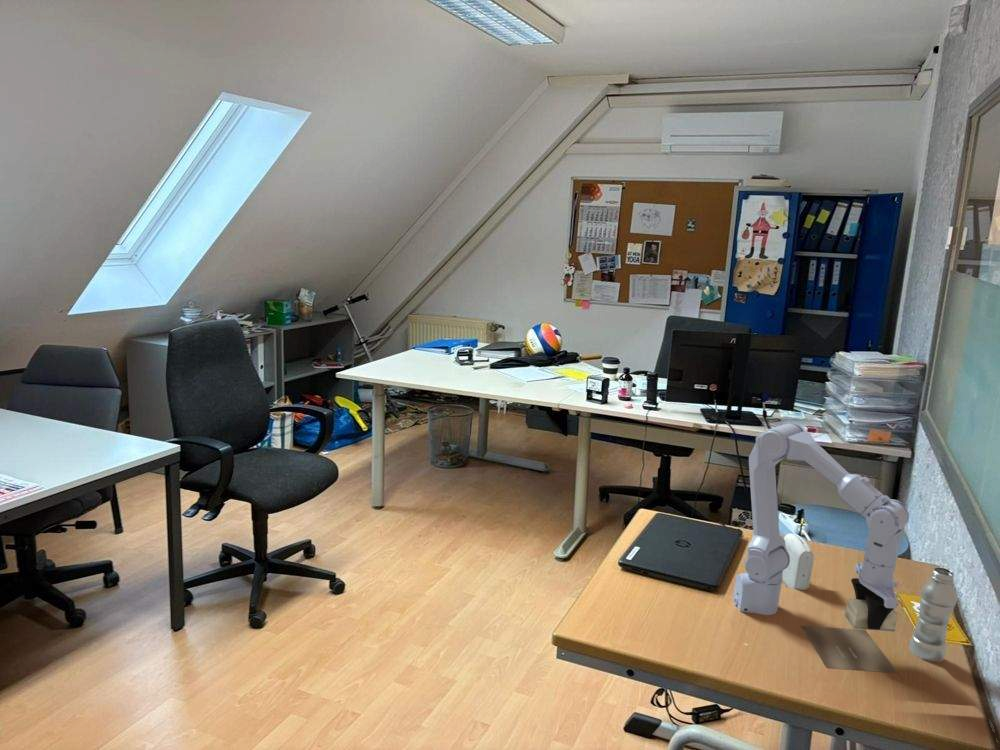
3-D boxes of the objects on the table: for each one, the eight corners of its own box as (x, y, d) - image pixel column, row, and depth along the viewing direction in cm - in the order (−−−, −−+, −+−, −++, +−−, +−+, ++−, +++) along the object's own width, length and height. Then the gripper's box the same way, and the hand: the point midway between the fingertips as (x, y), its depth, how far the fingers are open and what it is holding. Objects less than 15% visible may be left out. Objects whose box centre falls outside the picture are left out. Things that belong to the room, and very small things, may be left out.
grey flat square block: (825, 674, 148) (826, 667, 148) (799, 631, 163) (800, 625, 162) (896, 679, 148) (898, 673, 148) (864, 636, 162) (865, 630, 162)
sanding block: (854, 628, 150) (857, 610, 149) (844, 616, 154) (848, 598, 153) (894, 631, 150) (898, 613, 149) (884, 619, 154) (887, 601, 153)
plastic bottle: (900, 653, 157) (917, 566, 152) (922, 646, 160) (940, 561, 155) (927, 671, 151) (947, 581, 146) (950, 664, 154) (969, 576, 149)
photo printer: (810, 595, 178) (818, 548, 175) (792, 595, 178) (800, 547, 175) (791, 574, 188) (799, 529, 185) (775, 573, 188) (782, 528, 185)
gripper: (918, 580, 141) (905, 643, 145) (883, 545, 155) (872, 603, 159) (880, 577, 142) (868, 640, 145) (849, 542, 156) (838, 601, 159)
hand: (868, 621), depth 152 cm, fingers closed on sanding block, 4 cm apart
